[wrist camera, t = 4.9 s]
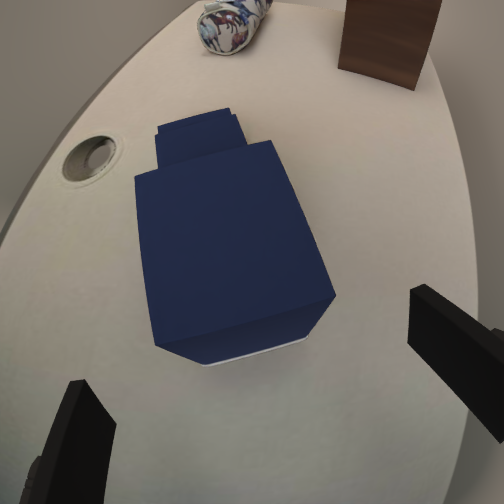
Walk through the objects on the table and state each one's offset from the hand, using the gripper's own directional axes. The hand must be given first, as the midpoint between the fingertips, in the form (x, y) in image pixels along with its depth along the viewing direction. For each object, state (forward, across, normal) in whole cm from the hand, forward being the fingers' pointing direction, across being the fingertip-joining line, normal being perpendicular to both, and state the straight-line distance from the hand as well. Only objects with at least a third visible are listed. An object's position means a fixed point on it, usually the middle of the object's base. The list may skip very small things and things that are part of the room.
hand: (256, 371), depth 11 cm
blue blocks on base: (+18, 0, 0) cm, 18 cm away
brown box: (+39, +35, +22) cm, 56 cm away
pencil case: (+46, +12, +29) cm, 56 cm away
